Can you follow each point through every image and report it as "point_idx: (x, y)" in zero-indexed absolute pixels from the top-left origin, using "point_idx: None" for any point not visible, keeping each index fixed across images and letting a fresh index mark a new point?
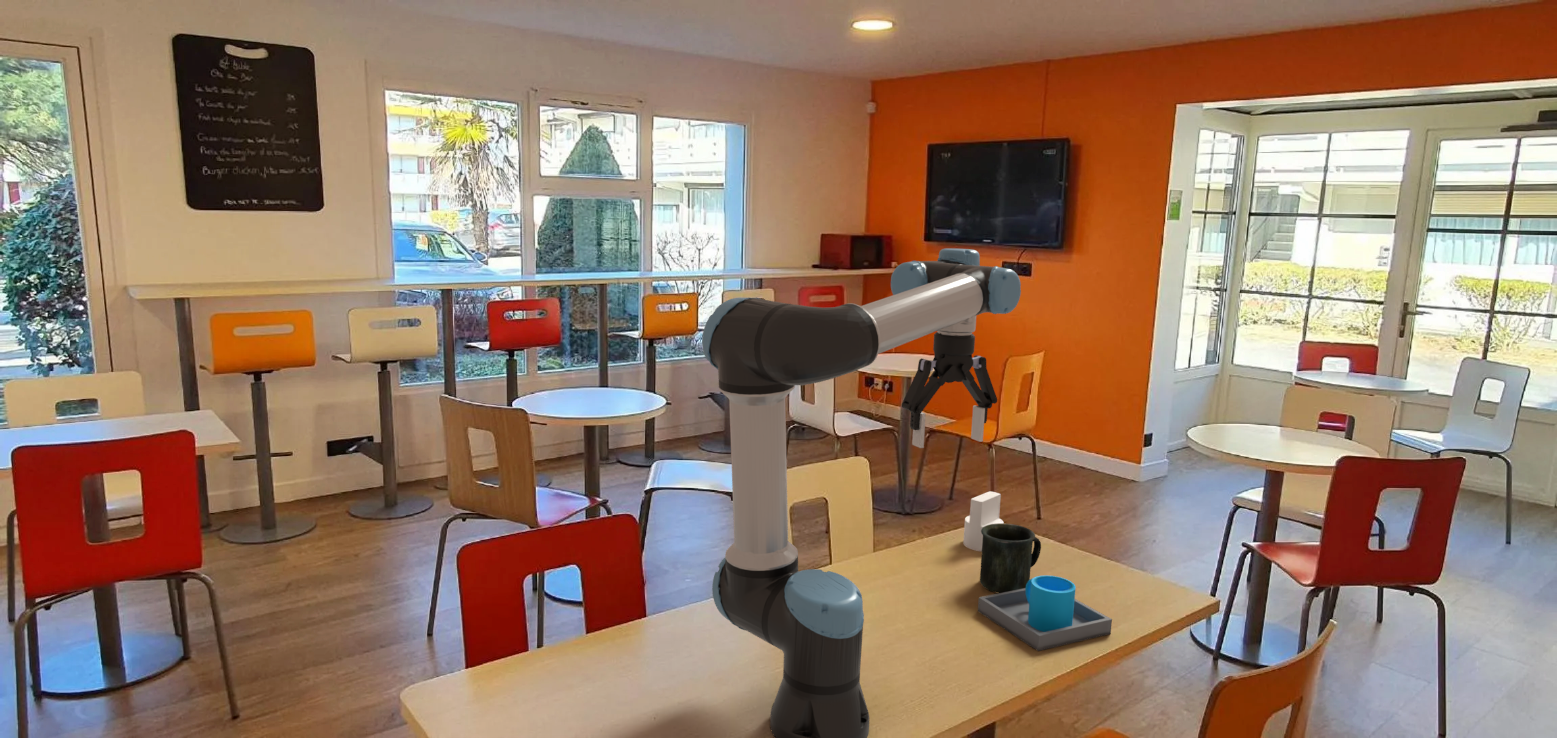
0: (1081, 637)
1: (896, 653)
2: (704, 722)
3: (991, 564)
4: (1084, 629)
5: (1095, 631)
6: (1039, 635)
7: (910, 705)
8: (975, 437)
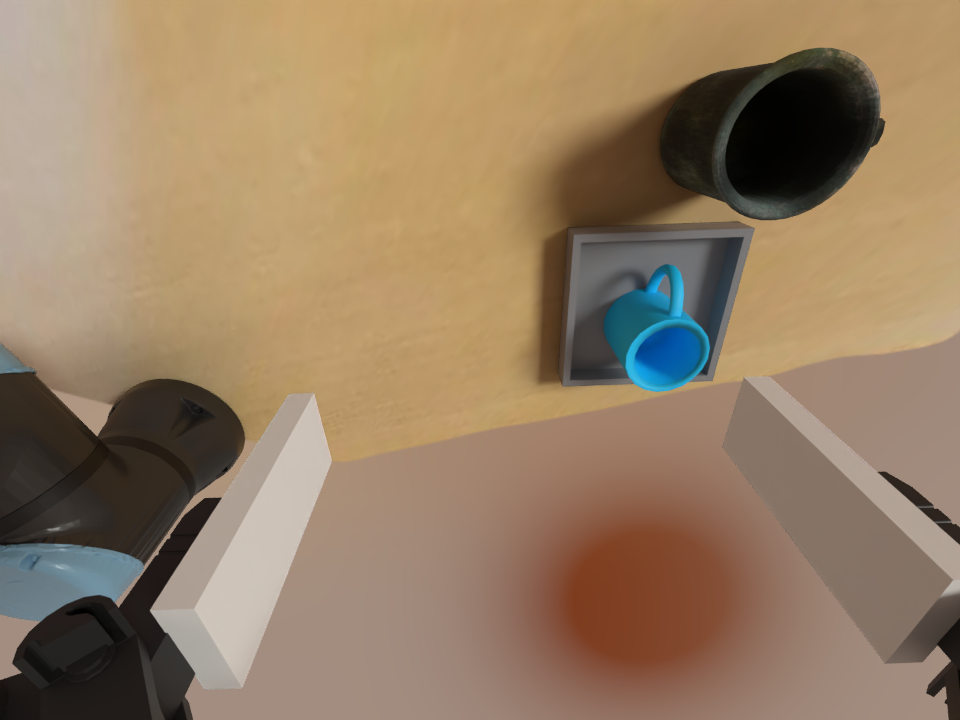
0: None
1: (346, 311)
2: None
3: (685, 158)
4: None
5: None
6: (563, 385)
7: None
8: (740, 424)
